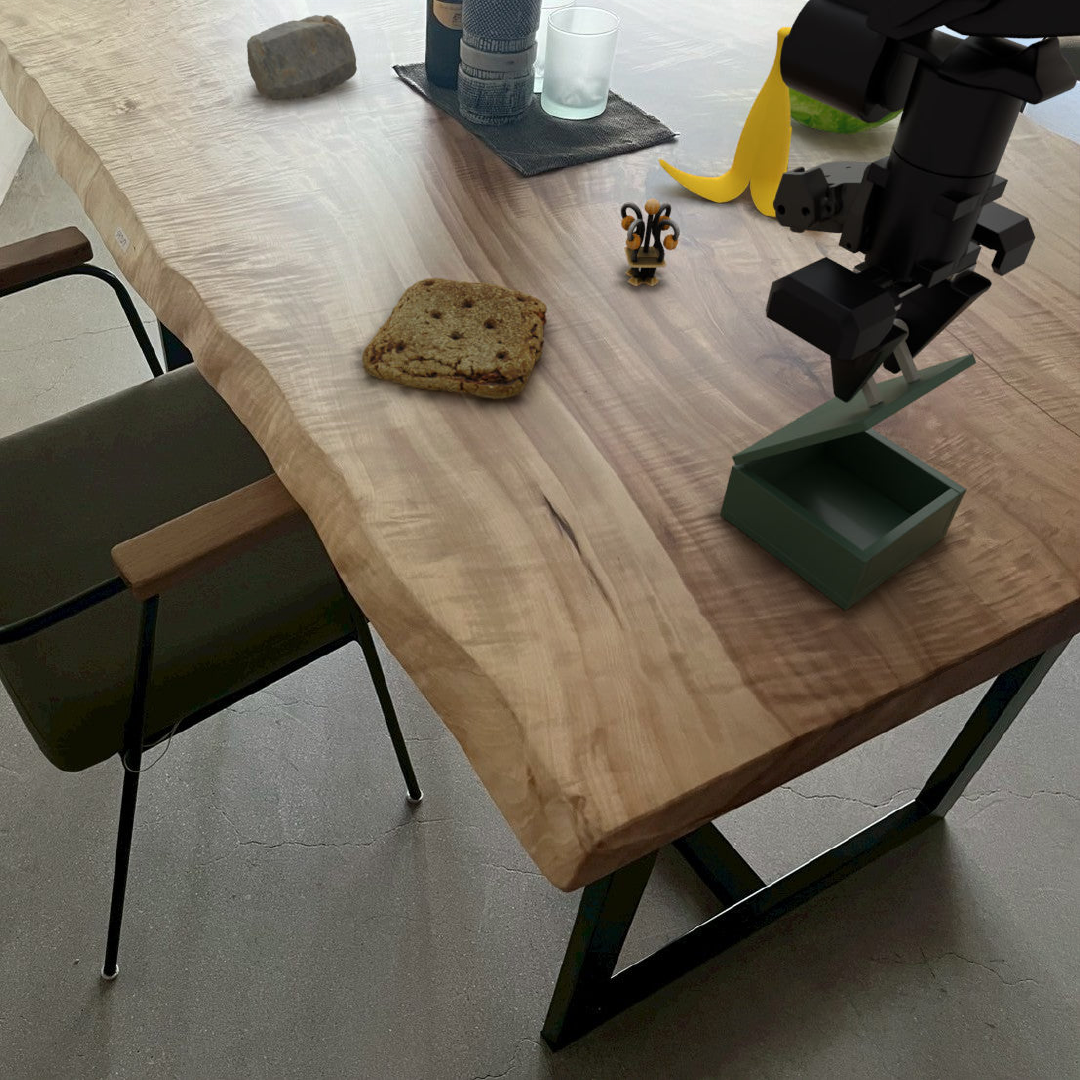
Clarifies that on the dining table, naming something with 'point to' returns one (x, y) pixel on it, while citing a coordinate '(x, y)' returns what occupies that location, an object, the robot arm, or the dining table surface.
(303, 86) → the stone
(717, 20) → the dining table surface
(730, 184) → the banana peel
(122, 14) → the dining table surface
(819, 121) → the lettuce
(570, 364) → the dining table surface
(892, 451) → the chest
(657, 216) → the figurine
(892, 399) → the lid
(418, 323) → the pastry
